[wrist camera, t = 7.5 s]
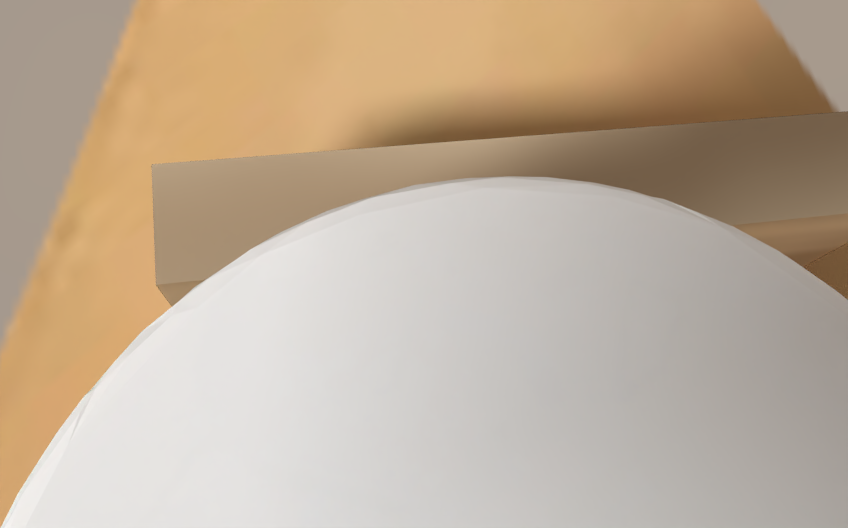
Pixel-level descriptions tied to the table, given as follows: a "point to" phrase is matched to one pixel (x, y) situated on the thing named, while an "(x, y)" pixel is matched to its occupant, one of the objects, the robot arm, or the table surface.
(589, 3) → the table surface
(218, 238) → the birch backstop wall
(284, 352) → the supplement bottle
